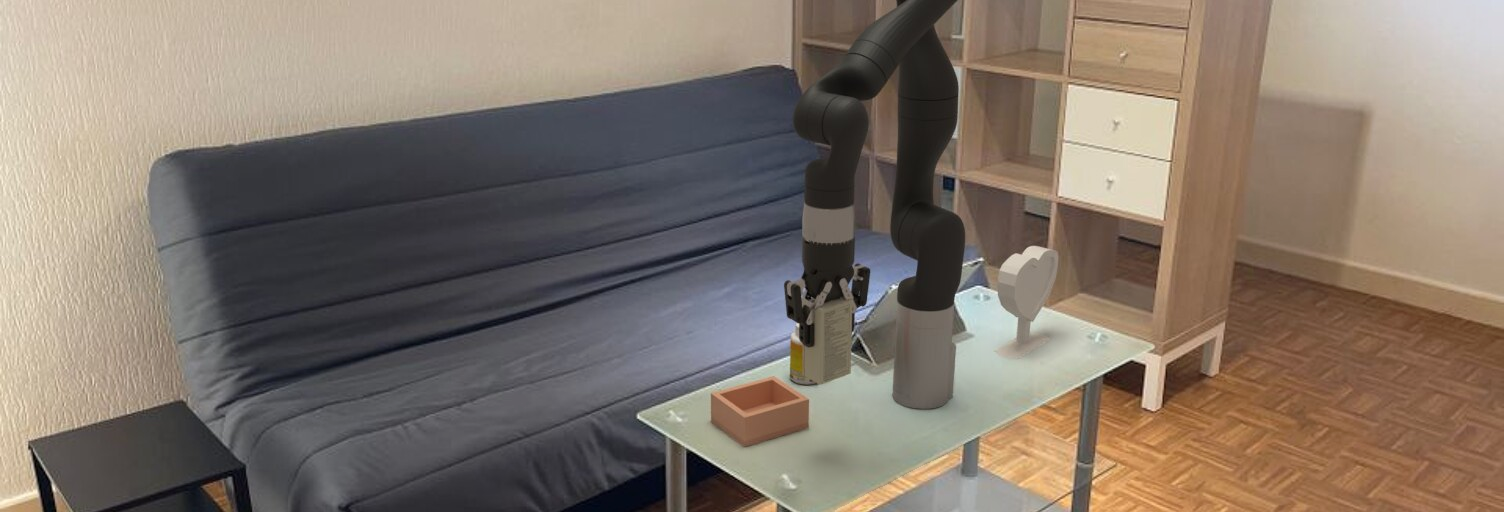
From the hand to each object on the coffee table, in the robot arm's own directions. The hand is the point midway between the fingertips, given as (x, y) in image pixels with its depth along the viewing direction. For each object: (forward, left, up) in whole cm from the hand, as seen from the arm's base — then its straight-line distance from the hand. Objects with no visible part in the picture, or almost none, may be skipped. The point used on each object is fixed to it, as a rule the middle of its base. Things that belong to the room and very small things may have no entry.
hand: (826, 339), depth 182 cm
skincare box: (0, 0, -6) cm, 6 cm away
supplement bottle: (-13, -23, -19) cm, 32 cm away
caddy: (+3, -13, -19) cm, 23 cm away
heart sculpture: (-55, -14, -19) cm, 60 cm away
